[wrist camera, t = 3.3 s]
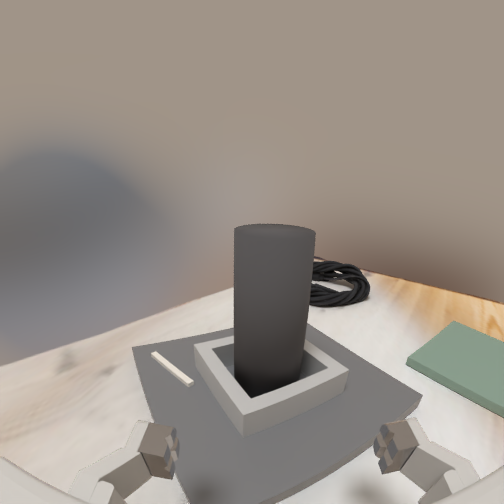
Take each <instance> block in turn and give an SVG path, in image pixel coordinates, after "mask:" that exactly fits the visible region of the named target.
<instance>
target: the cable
mask: <svg viewBox="0 0 504 504" xmlns="http://www.w3.org/2000/svg"><path fill="white" fill-rule="evenodd" d="M335 271H339V272H341V273H343V274H339V273H336V272H335ZM336 277H337V278H336ZM341 279H344V280H346V281H348V282H350V283H351V284H353V285H354V289H353V290H351V291H342V292H338V291H335V290H332V289H330V288H327V287H324V286H321V285H319V284H312V283H311V292H310V302H309V304H310V305H328V306H337V305H344V304H350V303H355V302H360V301H363V300H364V299H365V298H366V297H367V296H368V295H369V292H370V284H369V282H368V281H367V279H366V278H365V277H364V275H363V274H362V272H361V271H360V269H359V268H357V267H356V266H354V265H351V264H342V263H338V262H335V261H323V262H313V272H312V280H313V281H320V280H323V281H329V280H333V281H334V280H341Z"/></svg>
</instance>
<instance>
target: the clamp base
mask: <svg viewBox="0 0 504 504" xmlns="http://www.w3.org/2000/svg"><path fill="white" fill-rule="evenodd" d="M132 350H133V355H134V359H135V363H136V367H137V370H138V374H139V377H140V381H141V384H142V387H143V390H144V394H145V397H146V400H147V403H148V406H149V409H150V412H151V415H152V418H153V420H154V423H155V424H160V425H165V426H171V427H176V431H177V434H176V437H177V438H178V439H179V443H180V450H179V456H178V459H177V460H176V461H174V464H175V467H176V468H175V474H176V477H177V479H178V481H179V483H180V485H181V487H182V489H183V491H184V493H185V495H186V497H187V499H188V501H189V503H190V504H275V503H277V502H279V501H281V500H283V499H285V498H287V497H289V496H291V495H293V494H295V493H297V492H299V491H301V490H303V489H305V488H307V487H309V486H310V485H312V484H314V483H316V482H317V481H319V480H321V479H323V478H324V477H326V476H328V475H329V474H331V473H332V472H334V471H336V470H337V469H339V468H340V467H342V466H343V465H345V464H346V463H348V462H349V461H351V460H352V459H354V458H355V457H357V456H358V455H359V454H361V453H362V452H364V451H365V450H366V449H368V448H369V447H370V446H372V445H373V444H374V440H375V438H376V436H377V435H378V434H379V433H381V432H380V430H379V429H380V427H381V426H382V425H383V424H385V423H390V422H395V421H399V420H404V419H405V418H406V417H407V416H408V415H409V414H410V413H411V412H412V411H414V410H415V409H416V408H417V406H418V404H419V402H420V400H421V398H422V396H423V395H422V394H420V393H418V392H416V391H415V390H413V389H411V388H410V387H408V386H406V385H405V384H403V383H402V382H400V381H398V380H397V379H395V378H393V377H392V376H390V375H388V374H387V373H385V372H384V371H382V370H380V369H379V368H377V367H375V366H374V365H372V364H371V363H369V362H367V361H366V360H364V359H363V358H361V357H359V356H358V355H356V354H355V353H353V352H352V351H350V350H348V349H347V348H345V347H344V346H342V345H340V344H339V343H337V342H336V341H334V340H333V339H331V338H330V337H328V336H326V335H325V334H323V333H322V332H320V331H319V330H317V329H316V328H314V327H313V326H311V325H310V324H308V323H307V328H306V335H305V343H304V350H303V358H302V364H301V371H300V378H299V381H297V382H294V383H292V384H289V385H287V386H284V387H282V388H279V389H276V390H274V391H271V392H268V393H266V394H263V395H260V396H257V397H254V398H250V397H249V396H248V395H247V393H246V392H245V391H244V390H243V389H242V387H241V386H240V385H239V384H238V382H237V381H236V380H235V379H234V328H230V329H226V330H221V331H216V332H212V333H207V334H202V335H197V336H192V337H187V338H182V339H177V340H171V341H166V342H160V343H154V344H149V345H143V346H136V347H132Z"/></svg>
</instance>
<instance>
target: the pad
mask: <svg viewBox="0 0 504 504" xmlns="http://www.w3.org/2000/svg"><path fill="white" fill-rule="evenodd" d="M406 365H408V366H410V367H411V368H413V369H415V370H417V371H418V372H420V373H422V374H424V375H426V376H427V377H429V378H431V379H433V380H435V381H436V382H438V383H440V384H442V385H444V386H446V387H447V388H449V389H451V390H453V391H455V392H457V393H458V394H460V395H462V396H464V397H466V398H468V399H469V400H471V401H473V402H475V403H477V404H479V405H481V406H483V407H484V408H486V409H488V410H490V411H492V412H494V413H496V414H498V415H500V416H502V417H503V418H504V342H502V341H500V340H497V339H495V338H493V337H490V336H488V335H486V334H484V333H481V332H479V331H477V330H474V329H472V328H470V327H467V326H465V325H463V324H460V323H458V322H456V321H453V322H451V323H450V324H449V325H448V326H447V327H446V328H445V329H443V330H442V331H441V332H440V333H439V334H437V335H436V336H435V337H434V338H432V339H431V340H430V341H429V342H427V343H426V344H425V345H424V346H422V347H421V348H420V349H418V350H417V351H416V352H414V353H413V354H412V355H410V356H409V357H408V359H407V362H406Z"/></svg>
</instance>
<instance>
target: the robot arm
mask: <svg viewBox="0 0 504 504" xmlns="http://www.w3.org/2000/svg"><path fill="white" fill-rule="evenodd" d="M379 430H380V432H381V433H379V434H378V435H377V436H376V438H375V440H374V445H373V448H374V453H375V456H377V457H378V458H380V460H379V463H378V464H379V467H380V469H381V472H382V474H387V473H391V472H395V471H399V470H400V472H401V473H402V474H404V475H405V476H406V477H407V478H409V479H410V480H411V481H412V482H414V483H415V484H416V485H417V486H419V487H420V488H421V489H423V490H424V491H425V492H426V493H425V494H424V495H423V496H422V497H421V498H420V500H419V501H418V503H419V504H504V465H503V466H502V467H500V468H499V469H497V470H496V471H494V472H492V473H491V474H489V475H487V476H486V477H484V478H482V479H480V478H479V476H478V474H477V472H476V471H475V469H474V467H473V466H472V464H471V462H470V461H469V460H467V459H465V458H463V457H461V456H459V455H457V454H455V453H453V452H451V451H450V450H448V449H446V448H444V447H442V446H440V445H438V444H436V443H435V442H430V441H429V440H428V438H427V436H426V434H425V432H424V431H423V429H422V427H421V425H420V424H419V422H418V420H417V419H416V418H415V417H413V418H409V419H405V420H399V421H395V422H390V423H385V424H383V425H382V426H381V427H380V429H379ZM176 434H177V431H176V427H171V426H165V425H160V424H155V423H151V422H146V421H141V420H138V421H137V422H136V424H135V426H134V428H133V430H132V432H131V435H130V437H129V439H128V441H127V444H126V446H125V448H120V449H118V450H116V451H115V452H113V453H111V454H109V455H108V456H106V457H104V458H102V459H100V460H99V461H97V462H95V463H93V464H91V465H89V466H88V467H86V468H84V469H82V470H80V471H79V472H78V474H77V476H76V478H75V480H74V482H73V484H72V485H71V487H70V489H69V491H68V493H65V492H63V491H61V490H59V489H57V488H55V487H53V486H51V485H50V484H48V483H46V482H44V481H42V480H40V479H39V478H37V477H35V476H33V475H32V474H30V473H28V472H27V471H25V470H23V469H22V468H20V467H19V466H17V465H15V464H14V463H12V462H11V461H9V460H8V459H6V458H4V457H0V504H127V503H126V502H125V501H124V499H125V498H127V497H128V496H129V495H131V494H132V493H133V492H134V491H136V490H137V489H138V488H139V487H141V486H142V485H143V484H144V483H145V482H147V481H148V480H149V479H150V478H151V477H152V476H154V477H160V478H165V479H171V480H172V479H173V476H174V472H175V468H176V467H175V464H174V461H176V460H177V459H178V456H179V450H180V443H179V439H178V438H177V437H176Z"/></svg>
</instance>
